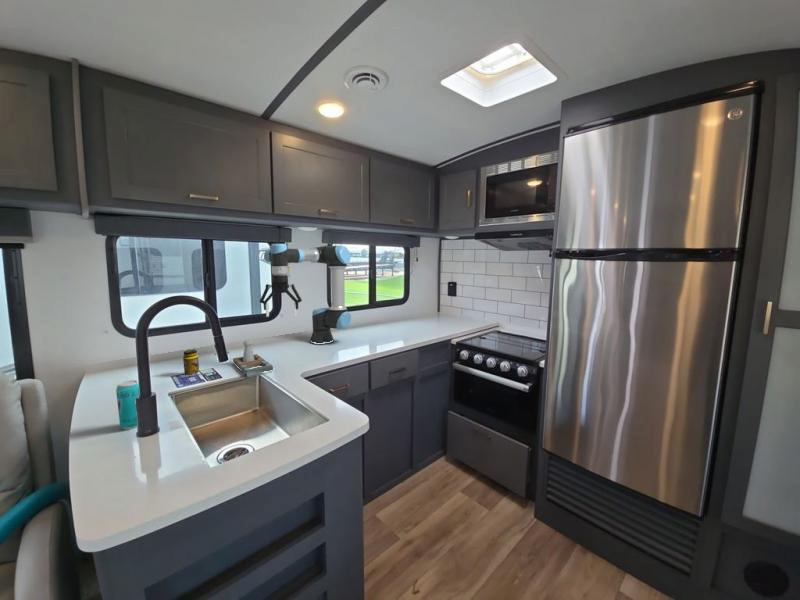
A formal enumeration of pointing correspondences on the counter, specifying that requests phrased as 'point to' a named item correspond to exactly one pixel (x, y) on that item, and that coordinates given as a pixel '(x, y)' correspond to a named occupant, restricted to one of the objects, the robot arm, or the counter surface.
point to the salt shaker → (248, 351)
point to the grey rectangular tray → (253, 365)
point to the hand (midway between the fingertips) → (281, 316)
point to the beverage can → (127, 403)
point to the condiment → (190, 362)
